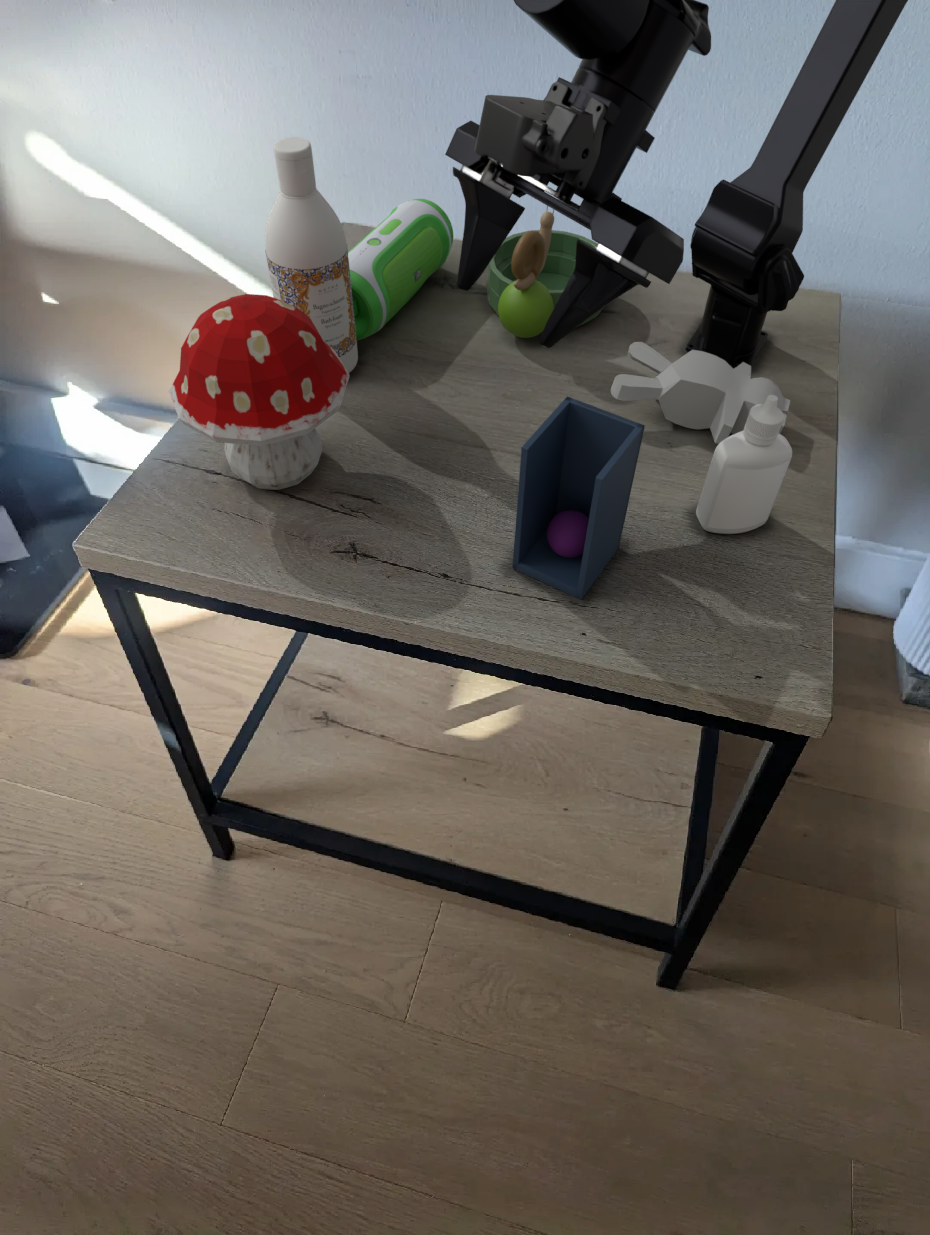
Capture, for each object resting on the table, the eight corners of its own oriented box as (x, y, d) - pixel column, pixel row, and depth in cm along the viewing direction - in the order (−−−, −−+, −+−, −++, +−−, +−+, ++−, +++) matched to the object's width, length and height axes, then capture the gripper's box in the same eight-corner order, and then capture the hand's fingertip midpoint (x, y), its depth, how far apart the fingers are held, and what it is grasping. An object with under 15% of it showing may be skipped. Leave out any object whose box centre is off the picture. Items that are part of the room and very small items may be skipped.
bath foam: (306, 394, 80) (270, 172, 65) (273, 357, 84) (232, 138, 68) (371, 370, 83) (352, 150, 67) (337, 334, 86) (311, 118, 71)
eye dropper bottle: (762, 546, 68) (810, 425, 59) (691, 529, 69) (728, 407, 60) (768, 510, 71) (816, 388, 62) (700, 494, 72) (736, 372, 63)
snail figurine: (565, 323, 87) (579, 205, 78) (534, 355, 84) (544, 235, 75) (519, 307, 89) (526, 189, 80) (486, 337, 86) (490, 218, 76)
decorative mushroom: (247, 399, 80) (211, 242, 68) (385, 435, 76) (373, 277, 65) (161, 497, 71) (104, 337, 60) (312, 542, 68) (283, 382, 57)
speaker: (379, 355, 84) (373, 283, 78) (315, 336, 86) (304, 265, 80) (457, 270, 94) (458, 200, 88) (398, 254, 96) (395, 185, 90)
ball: (556, 527, 69) (561, 494, 66) (598, 543, 68) (604, 510, 65) (537, 556, 67) (540, 523, 64) (579, 573, 66) (585, 540, 63)
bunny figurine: (787, 431, 71) (614, 372, 73) (762, 476, 75) (599, 419, 77) (802, 367, 77) (641, 314, 78) (779, 412, 81) (626, 361, 83)
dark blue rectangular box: (552, 518, 70) (567, 395, 61) (619, 547, 68) (645, 425, 59) (512, 568, 67) (521, 446, 57) (581, 600, 65) (602, 479, 55)
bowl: (519, 259, 96) (521, 219, 92) (622, 288, 92) (628, 248, 88) (466, 313, 89) (466, 272, 85) (575, 347, 85) (580, 305, 82)
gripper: (446, -11, 54) (346, 230, 61) (664, 81, 45) (520, 354, 52) (546, 69, 63) (449, 274, 69) (746, 161, 54) (614, 386, 60)
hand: (501, 316), depth 62 cm, fingers open, 9 cm apart
